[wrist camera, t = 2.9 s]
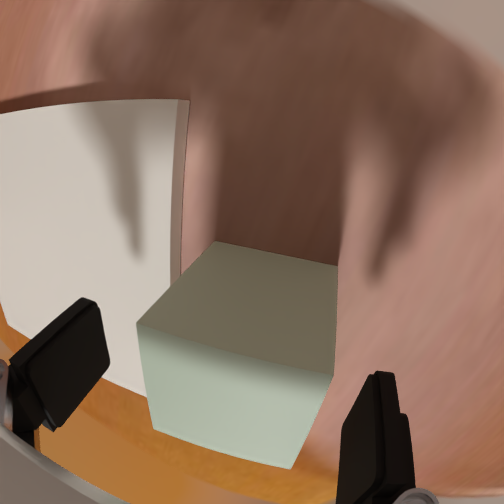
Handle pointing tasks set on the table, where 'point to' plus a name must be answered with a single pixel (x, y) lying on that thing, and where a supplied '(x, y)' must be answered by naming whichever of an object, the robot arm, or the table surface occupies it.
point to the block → (241, 352)
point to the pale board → (92, 216)
